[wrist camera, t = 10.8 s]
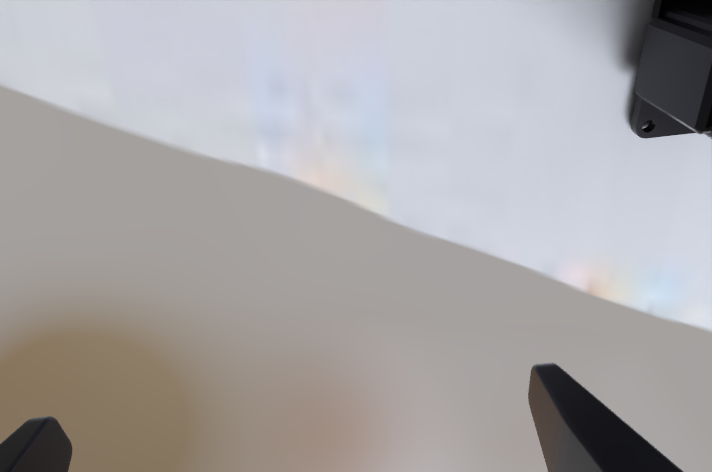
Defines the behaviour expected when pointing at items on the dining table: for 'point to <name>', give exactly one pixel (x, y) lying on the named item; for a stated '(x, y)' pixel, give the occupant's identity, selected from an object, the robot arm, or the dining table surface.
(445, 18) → the dining table surface
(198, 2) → the dining table surface
